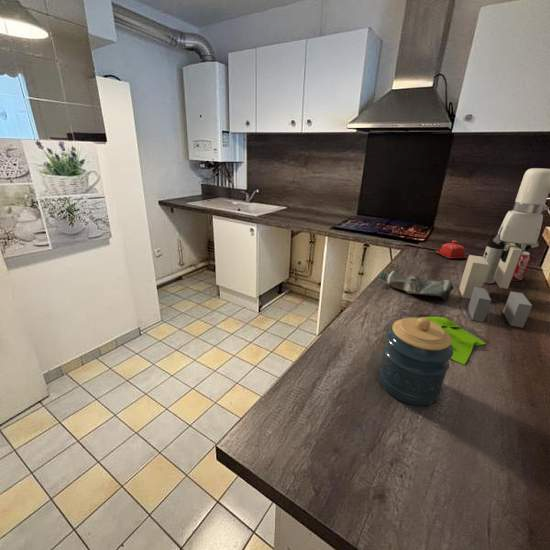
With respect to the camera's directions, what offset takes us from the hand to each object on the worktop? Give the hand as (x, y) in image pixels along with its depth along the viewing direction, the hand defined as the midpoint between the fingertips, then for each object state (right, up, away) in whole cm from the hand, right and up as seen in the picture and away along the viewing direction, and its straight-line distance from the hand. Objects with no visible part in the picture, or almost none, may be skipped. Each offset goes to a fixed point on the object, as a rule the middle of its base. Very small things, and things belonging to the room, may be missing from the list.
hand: (508, 261), depth 102 cm
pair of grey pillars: (-11, -19, -7) cm, 23 cm away
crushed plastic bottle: (-29, -11, +10) cm, 32 cm away
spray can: (+7, -7, +21) cm, 23 cm away
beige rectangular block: (-8, -12, +9) cm, 17 cm away
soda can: (+20, -7, +24) cm, 32 cm away
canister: (-51, -30, -35) cm, 69 cm away
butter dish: (+10, +5, +50) cm, 51 cm away
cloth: (-33, -23, -18) cm, 45 cm away
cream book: (0, -8, +3) cm, 9 cm away
